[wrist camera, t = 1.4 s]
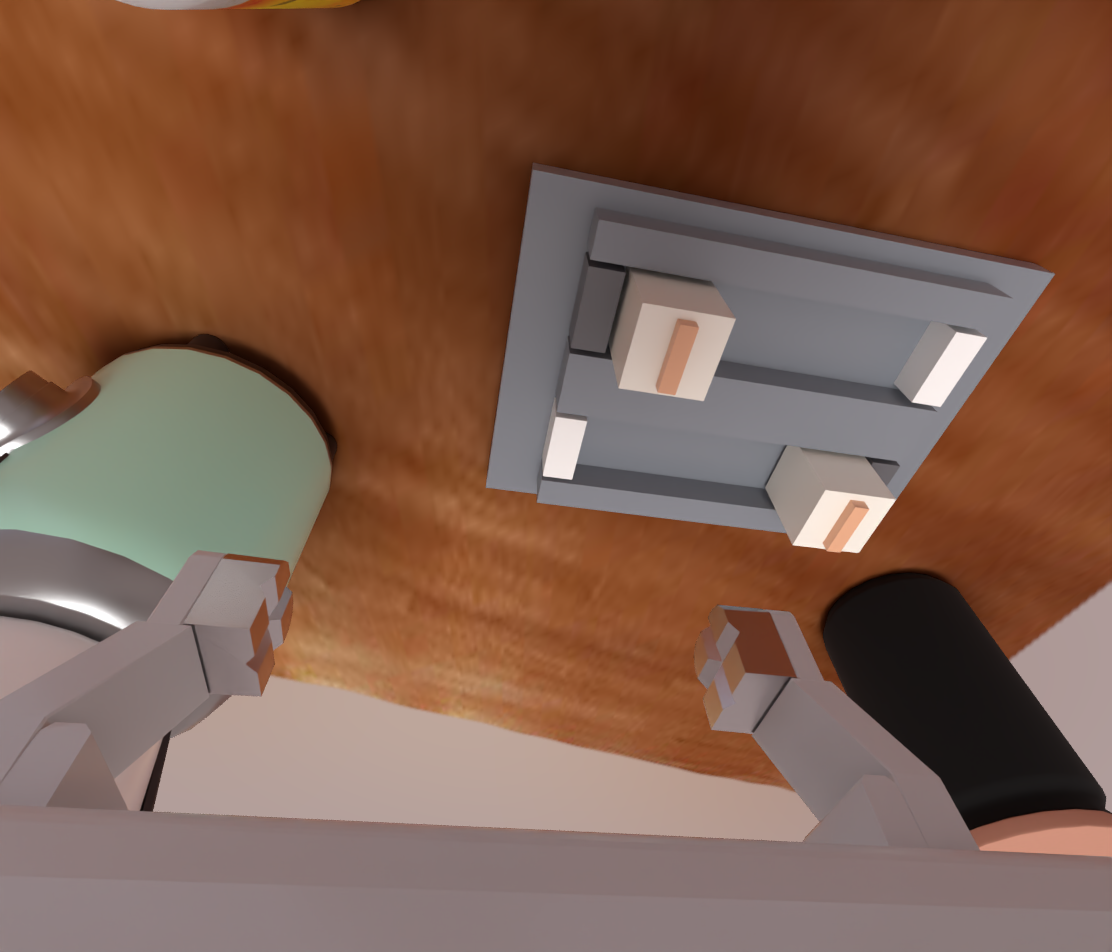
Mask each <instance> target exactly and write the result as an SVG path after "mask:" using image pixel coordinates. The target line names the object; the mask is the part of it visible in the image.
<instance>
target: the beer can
mask: <svg viewBox="0 0 1112 952" xmlns="http://www.w3.org/2000/svg"><path fill="white" fill-rule="evenodd" d="M117 1H120V2H123V3H126V4H130V5H133V6H138V7H144V8H149V9H165V10H187V9H283V8H338V7H344V6H348V5H352V4H354V3H356V2H358V1H360V0H117Z"/></svg>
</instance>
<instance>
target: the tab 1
mask: <svg viewBox="0 0 1112 952" xmlns="http://www.w3.org/2000/svg"><path fill="white" fill-rule="evenodd" d="M625 272H626V274H625V278H624V282H623V286H622V290H621V293H620V297H619V301H618V305H617V309H616V313H615V317H614V320H613V324H612V328H611V332H610V336H609V340H608V343H609V348H610V352H611V357H612V361H613V366H614V370H615V375H616V380H617V384H618V388H620V389H627V390H633V391H640V392H646V393H653V394H659V395H666V396H673V397H679V398H686V399H692V400H699V401H704V399H705V397H706V394H707V392H708V389H709V386H710V384H711V381H712V379H713V376H714V374H715V371H716V369H717V366H718V364H719V361H720V358H721V356H722V353H723V351H724V348H725V346H726V343H727V341H728V338H729V335H730V333H731V330H732V328H733V325H734V323H735V320H736V318H735V317H734V315H733V314H732V312H731V310H730V309H729V307H728V306H727V304H726V303H725V301H724V300H723V298H722V296H721V295H720V293H719V292H718V290H717V289H716V287H715V286H714V284H713V283H712V281H706V280H701V279H695V278H690V277H684V276H679V275H673V274H668V273H662V272H657V271H651V270H646V269H640V268H635V267H629V266H626V270H625Z"/></svg>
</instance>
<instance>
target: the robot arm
mask: <svg viewBox="0 0 1112 952" xmlns="http://www.w3.org/2000/svg"><path fill="white" fill-rule="evenodd" d="M289 578H290V569H289V562H287V561H284V560H276V559H269V558H261V557H253V556H245V555H237V554H229V553H228V554H226V553H218V552H210V551H202V550H197V551H196V552H195V553H193V554H192V555H191V556H190V557H189V558H188V560H187V561H186V563H185V564H184V566H183V567H182V569H181V570H180V572H179V573H178V575H177V576H176V578H175V579H174V581H173V582H172V584H171V585H170V587H169V588H168V590H167V591H166V593H165V594H164V596H163V597H162V599H161V600H160V602H159V603H158V605H157V606H156V608H155V609H154V611H153V612H152V614H151V615H150V617H149V618H148V620H147V621H136V622H134V623H132V624H131V625H129V626H127V627H125V628H124V629H122V630H120V631H119V632H117V633H115V634H113V635H112V636H110V637H108V638H106V639H105V640H103V641H101V642H99V643H98V644H96V645H94V646H92V647H91V648H89V649H87V650H85V651H84V652H82V653H80V654H78V655H77V656H75V657H73V658H71V659H70V660H68V661H66V662H65V663H63V664H61V665H59V666H58V667H56V668H54V669H52V670H51V671H49V672H47V673H45V674H44V675H42V676H40V677H38V678H37V679H35V680H33V681H31V682H30V683H28V684H26V685H24V686H23V687H21V688H19V689H18V690H16V691H14V692H12V693H11V694H9V695H7V696H5V697H4V698H2V699H0V952H1112V857H1107V856H1086V855H1065V854H1044V853H1022V852H1001V851H980V849H979V847H978V845H977V844H976V842H975V840H974V838H973V836H972V835H971V833H970V831H969V829H968V827H967V826H966V824H965V822H964V820H963V818H962V817H961V815H960V813H959V811H958V809H957V808H956V806H955V804H954V802H953V800H952V799H951V797H950V795H949V793H948V791H947V790H946V788H945V786H944V784H943V782H942V781H941V779H940V777H938V776H937V775H936V774H935V773H934V772H933V771H932V770H931V769H929V768H928V767H927V766H926V765H925V764H924V763H923V762H921V761H920V760H919V759H918V758H917V757H916V756H915V755H914V754H912V753H911V752H910V751H909V750H908V749H907V748H906V747H905V746H903V745H902V744H901V743H900V742H899V741H898V740H897V739H895V738H894V737H893V736H892V735H891V734H890V733H889V732H888V731H886V730H885V729H884V728H883V727H882V726H881V725H880V724H878V723H877V722H876V721H875V720H874V719H873V718H872V717H871V716H869V715H868V714H867V713H866V712H865V711H864V710H863V709H862V708H860V707H859V706H858V705H857V704H856V703H855V702H854V701H852V700H851V699H850V698H849V697H848V696H847V695H846V694H845V693H843V692H842V691H841V690H840V689H839V688H838V687H837V686H835V685H834V684H833V683H832V682H829V681H824V679H823V677H822V675H821V673H820V671H819V669H818V667H817V664H816V662H815V660H814V658H813V656H812V654H811V652H810V649H809V647H808V645H807V643H806V641H805V639H804V637H803V634H802V632H801V630H800V628H799V626H798V624H797V622H796V619H795V617H794V616H793V615H792V614H791V613H790V612H786V611H775V610H763V609H756V608H745V607H734V606H723V605H717V606H715V607H714V608H713V609H712V611H711V612H710V614H709V616H708V619H709V623H710V627H708V628H706V629H705V630H703V631H701V632H700V634H699V637H698V639H697V641H696V644H695V652H694V663H695V670H696V674H697V678H698V680H699V681H700V682H701V683H702V684H703V685H704V686H705V687H706V688H707V689H708V690H707V692H706V693H705V695H704V697H703V701H704V705H705V708H706V712H707V716H708V720H709V723H710V727H711V730H720V731H730V732H740V733H749V734H753V735H752V737H753V738H754V739H755V741H756V742H757V743H758V744H759V746H760V747H761V748H762V749H763V751H764V752H765V753H766V755H767V756H768V757H769V758H770V760H771V761H772V762H773V763H774V765H775V766H776V767H777V768H778V770H779V771H780V772H781V774H782V775H783V776H784V777H785V779H786V780H787V781H788V782H789V784H790V785H791V786H792V787H793V789H794V790H795V791H796V793H797V794H798V795H799V796H800V797H801V799H802V800H803V801H804V803H805V804H806V805H807V806H808V807H809V809H810V810H811V812H812V813H813V814H814V815H815V817H816V818H817V819H818V820H819V823H818V825H816V826H815V828H814V829H813V830H812V831H811V832H810V833H809V834H808V835H807V836H806V837H805V839H804V840H803V842H787V841H765V840H744V839H723V838H702V837H680V836H659V835H639V834H638V835H637V834H617V833H596V832H575V831H554V830H533V829H511V828H491V827H469V826H448V825H447V826H446V825H426V824H404V823H384V822H362V821H340V820H320V819H318V820H317V819H297V818H277V817H256V816H255V817H254V816H235V815H213V814H190V813H170V812H149V811H129V810H128V808H127V806H126V803H125V801H124V799H123V797H122V795H121V793H120V791H119V789H118V787H117V785H116V783H115V780H114V779H115V778H116V777H117V776H118V775H120V774H121V773H122V772H123V771H124V770H125V769H127V768H128V767H129V766H130V765H131V764H132V763H133V762H135V761H136V760H137V759H138V758H139V757H140V756H142V755H143V754H144V753H145V752H146V751H147V750H149V749H150V748H151V747H152V746H153V745H154V744H155V743H157V742H158V741H159V740H160V739H161V738H162V737H164V736H165V735H166V734H167V733H168V732H169V731H171V730H172V729H173V728H174V727H175V726H176V725H178V724H179V723H180V722H181V721H182V720H183V719H184V718H186V717H187V716H188V715H189V714H190V713H191V712H193V711H194V710H195V709H196V708H197V707H198V706H200V705H201V704H202V703H203V702H204V701H205V700H207V699H208V698H209V694H220V695H241V696H262V693H263V691H264V689H265V686H266V684H267V682H268V679H269V677H270V674H271V672H272V670H273V667H274V665H275V662H274V654H273V650H274V649H276V648H277V647H279V646H280V645H281V644H283V643H284V640H285V638H286V635H287V632H288V630H289V626H290V621H291V617H292V610H293V596H292V592H291V591H290V590H289V589H288V588H287V587H286V584H287V582H288V580H289Z"/></svg>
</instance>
